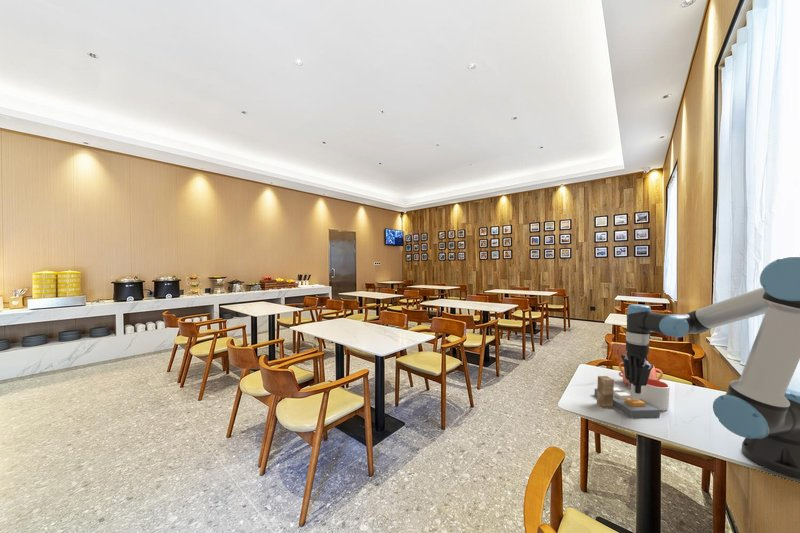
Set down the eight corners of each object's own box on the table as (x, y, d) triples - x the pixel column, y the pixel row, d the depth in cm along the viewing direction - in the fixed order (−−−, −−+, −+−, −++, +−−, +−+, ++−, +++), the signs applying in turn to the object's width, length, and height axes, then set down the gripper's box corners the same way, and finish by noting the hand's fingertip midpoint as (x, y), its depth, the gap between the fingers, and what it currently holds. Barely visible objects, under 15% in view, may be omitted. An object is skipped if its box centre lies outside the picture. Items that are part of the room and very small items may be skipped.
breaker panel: (659, 417, 120) (660, 406, 120) (631, 418, 119) (631, 406, 119) (619, 394, 140) (619, 384, 140) (594, 395, 139) (594, 385, 139)
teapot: (635, 393, 141) (637, 366, 141) (612, 379, 158) (613, 355, 157) (669, 394, 141) (670, 367, 140) (641, 380, 157) (642, 355, 157)
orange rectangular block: (644, 410, 122) (645, 402, 122) (633, 411, 122) (633, 402, 122) (636, 405, 126) (636, 398, 126) (624, 406, 126) (625, 398, 126)
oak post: (612, 408, 127) (613, 379, 126) (603, 408, 126) (604, 379, 126) (605, 403, 131) (606, 376, 130) (596, 403, 130) (597, 376, 130)
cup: (674, 413, 123) (675, 389, 123) (646, 410, 125) (647, 386, 125) (658, 401, 133) (659, 379, 133) (633, 399, 135) (634, 377, 135)
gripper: (660, 347, 117) (658, 407, 118) (632, 338, 130) (630, 392, 131) (642, 347, 117) (640, 407, 117) (616, 338, 130) (613, 392, 130)
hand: (634, 399), depth 124 cm, fingers closed
